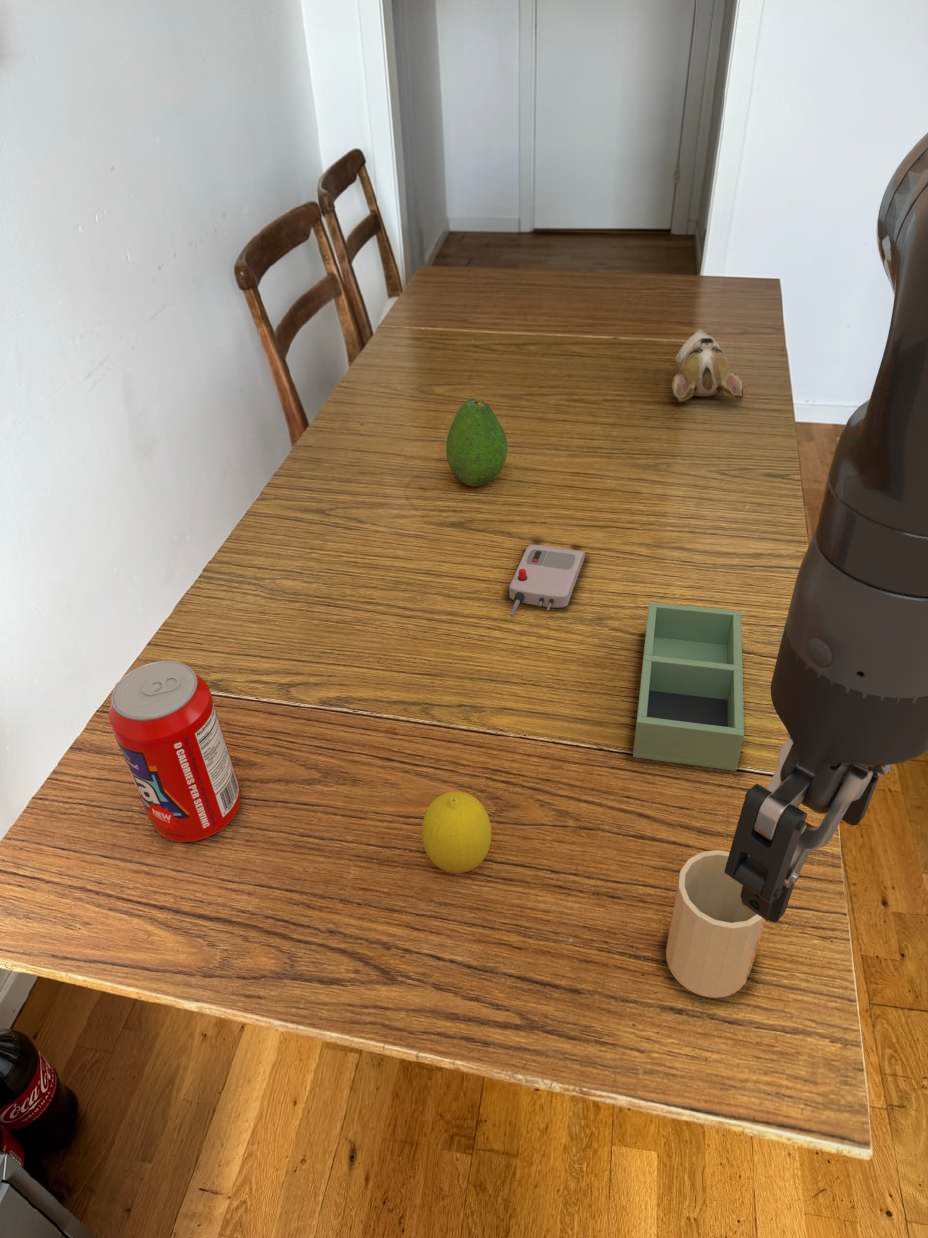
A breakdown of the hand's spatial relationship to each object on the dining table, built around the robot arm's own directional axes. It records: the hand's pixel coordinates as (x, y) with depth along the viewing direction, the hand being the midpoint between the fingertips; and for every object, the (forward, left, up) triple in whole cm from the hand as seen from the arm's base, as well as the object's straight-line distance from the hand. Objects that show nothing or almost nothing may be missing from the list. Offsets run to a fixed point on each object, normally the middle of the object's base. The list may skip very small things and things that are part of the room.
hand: (803, 859), depth 49 cm
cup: (+4, -4, -20) cm, 21 cm away
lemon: (+25, 0, -20) cm, 32 cm away
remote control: (+40, -36, -20) cm, 57 cm away
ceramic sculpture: (+47, -91, -20) cm, 104 cm away
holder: (+18, -28, -20) cm, 38 cm away
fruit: (+59, -50, -20) cm, 80 cm away
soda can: (+47, +9, -20) cm, 51 cm away
